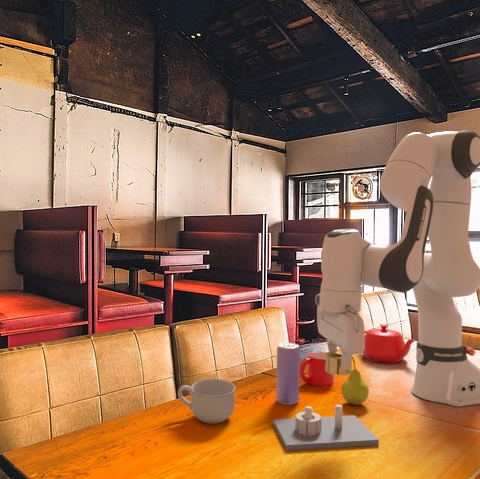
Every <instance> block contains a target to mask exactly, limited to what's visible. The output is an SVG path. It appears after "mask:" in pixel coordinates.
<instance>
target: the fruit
mask: <svg viewBox="0 0 480 479" xmlns="http://www.w3.org/2000/svg"><path fill="white" fill-rule="evenodd" d="M352 362H353V366H354V367H353V368H354V369H351V374H349V375H348V378H347V379H345V380H344V382H343V383H342V385H341V387H340V390H341V393H342V397H343V398H344V400H345V401H346V402H347V403H348V404H349V405H351V406H359V405H360V404H363V403H364V402H366V401H367V399H368V397H369V387H368V385H367V383H366V382H365V381H364V380H363V379H362V376H361V372H360V371H359V370H358V369H356V362H355V359H354V357H353V356H352Z"/></svg>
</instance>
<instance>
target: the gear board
mask: <svg viewBox="0 0 480 479" xmlns="http://www.w3.org/2000/svg"><path fill="white" fill-rule="evenodd" d="M272 426H273V427H274V429H275V431H276V433H277V435H278V437H279V439H280V441H281V443H282V445H283V446H284V448H285V451H286V452H291V451H306V450H321V449H323V450H325V449H337V448H340V449H341V448H355V447H369V446H370V447H371V446H379V444H380V442H379V440H380V439H379V438H378V437H377V436H376V435H375V434H374V433H373V432H372V431H371V430H370V429H369V428H368V427H367V426H366V425H365V424H364V423H363V422H362V421H361V420H360V419H359V418H358V417H357V416H356V415H343V405H341V404H335V406H334V416H321V415H320V414H319V413H316V412H313V407H312V406H307V405H306V406H304V411H301V412H300V411H299V412H298V413H296V414H295V416H294V418H279V419H277V418H276V419H275V418H274V419H273V420H272Z"/></svg>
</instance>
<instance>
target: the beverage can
mask: <svg viewBox="0 0 480 479" xmlns="http://www.w3.org/2000/svg"><path fill="white" fill-rule="evenodd" d="M300 350H301V349H300V346H299V344H298V343H294V342H281V343H280V342H279V343H278V344H277V347H276V383H275V384H276V388H275V389H276V392H275V393H276V394H275V395H276V396H275V397H276V398H275V399H276V401H277V402H278V403H279V404H281V405H285V406H293V405H296V404H298V402H299V400H300V375H299V370H300V352H301V351H300Z"/></svg>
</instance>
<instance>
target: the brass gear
mask: <svg viewBox="0 0 480 479" xmlns="http://www.w3.org/2000/svg"><path fill="white" fill-rule="evenodd" d="M326 353H327V354H326V363H325V371H326V372H327V373H329V374H334V376H350V374H351V371H352V370H353V369H352V368H353V366H352V365H353V363H352V362H353V359H352V357H353V356H352V357H351V360H350V367H349V369H342V368H341V367H340V366H339V364H340V363H339V360H341V356H342V353H341V351H340V352H339V351H337V352H331V353H330V352H329V351H328V352H326Z"/></svg>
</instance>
